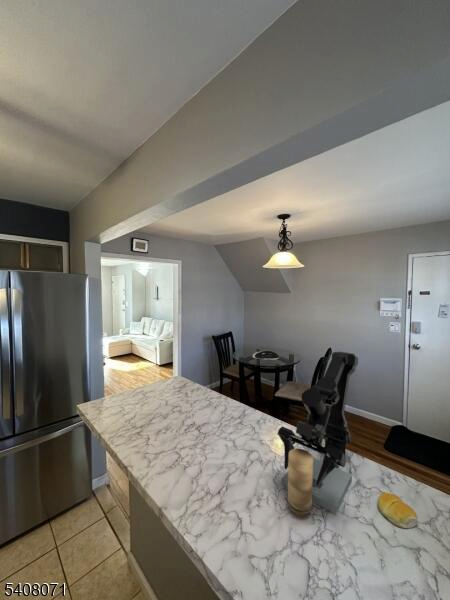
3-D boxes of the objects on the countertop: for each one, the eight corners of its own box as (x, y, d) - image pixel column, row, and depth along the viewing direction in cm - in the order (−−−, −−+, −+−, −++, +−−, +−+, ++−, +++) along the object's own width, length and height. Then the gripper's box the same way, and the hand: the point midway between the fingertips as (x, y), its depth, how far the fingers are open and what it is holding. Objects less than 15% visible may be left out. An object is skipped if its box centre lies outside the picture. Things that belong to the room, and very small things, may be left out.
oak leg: (311, 504, 70) (313, 451, 70) (311, 523, 64) (313, 466, 64) (288, 497, 72) (289, 446, 72) (286, 516, 66) (287, 460, 66)
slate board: (303, 458, 90) (303, 453, 90) (351, 480, 79) (351, 474, 79) (281, 484, 77) (282, 478, 77) (335, 514, 67) (336, 507, 67)
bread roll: (392, 498, 73) (393, 485, 73) (423, 526, 64) (424, 511, 64) (369, 503, 71) (369, 489, 71) (397, 532, 62) (398, 516, 62)
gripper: (281, 400, 78) (261, 451, 70) (344, 420, 66) (329, 484, 58) (291, 416, 84) (274, 465, 76) (351, 438, 72) (338, 498, 64)
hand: (300, 476), depth 68 cm, fingers open, 9 cm apart
